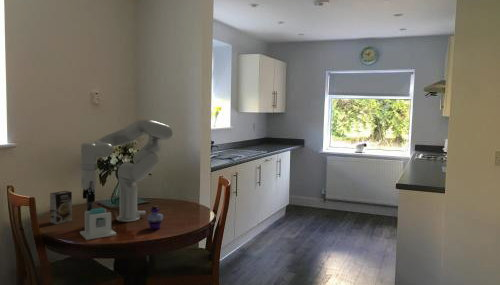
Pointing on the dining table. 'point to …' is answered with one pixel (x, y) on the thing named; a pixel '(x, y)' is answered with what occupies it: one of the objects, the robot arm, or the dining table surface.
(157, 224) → the potion bottle
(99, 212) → the block
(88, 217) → the bearing block
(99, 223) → the shaft
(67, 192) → the coffee box
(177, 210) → the dining table surface
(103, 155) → the robot arm
